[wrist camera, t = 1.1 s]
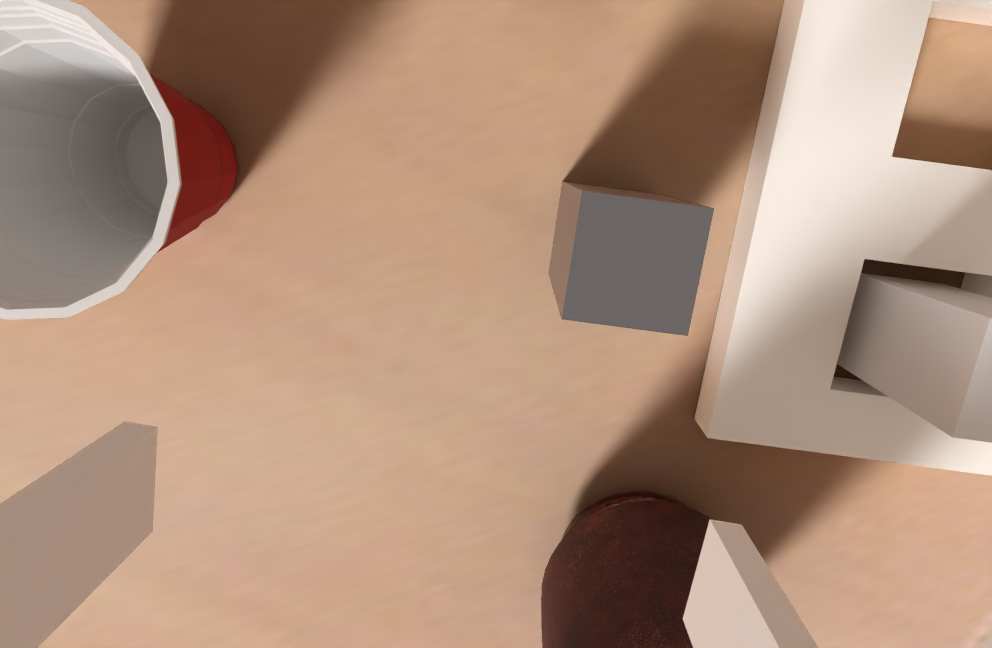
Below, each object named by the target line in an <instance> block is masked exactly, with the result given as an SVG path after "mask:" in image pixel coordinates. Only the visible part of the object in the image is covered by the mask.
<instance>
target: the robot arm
mask: <svg viewBox="0 0 992 648" xmlns="http://www.w3.org/2000/svg"><path fill="white" fill-rule="evenodd" d="M156 448H157V427H155V426H149V425H143V424H137V423H131V422H123V423H122V424H120V425H119V426H117V427H116V428H114V429H113V430H111V431H110V432H108V433H107V434H105V435H104V436H102V437H101V438H99V439H98V440H96V441H95V442H93V443H92V444H90V445H89V446H87V447H86V448H84V449H83V450H81V451H80V452H78V453H77V454H75V455H74V456H72V457H70V458H69V459H67V460H66V461H64V462H63V463H61V464H60V465H58V466H57V467H55V468H54V469H52V470H51V471H49V472H48V473H46V474H45V475H43V476H42V477H40V478H39V479H37V480H36V481H34V482H33V483H31V484H30V485H28V486H27V487H25V488H24V489H22V490H21V491H19V492H18V493H16V494H15V495H13V496H11V497H10V498H8V499H7V500H5V501H4V502H2V503H1V504H0V648H38V647H39V646H40V645H41V644H42V643H43V642H44V641H45V640H46V639H47V637H48V636H49V635H50V634H51V633H52V632H53V631H54V630H55V629H56V628H57V627H58V626H59V625H60V624H61V623H62V622H63V621H64V620H65V619H66V618H67V617H68V616H69V615H70V614H71V613H72V612H73V611H74V610H75V609H76V608H77V607H78V606H79V605H80V604H81V603H82V602H83V601H84V600H85V599H86V598H87V597H88V596H89V595H90V594H91V593H92V592H93V591H94V590H95V589H96V588H97V587H98V586H99V585H100V584H101V583H102V582H103V581H104V580H105V579H106V578H107V577H108V576H109V575H110V574H111V573H112V572H113V571H114V570H115V569H116V568H117V567H118V566H119V565H120V564H121V563H122V562H123V561H124V560H125V559H126V558H127V557H128V555H129V554H130V553H131V552H132V551H133V550H134V549H135V548H136V547H137V546H138V545H139V544H140V543H141V542H142V541H143V540H144V539H145V538H146V537H147V536H148V535H149V534H150V533H151V532H152V530H153V509H154V489H155V468H156ZM683 621H684V624H685V627H686V629H687V632H688V635H689V638H690V640H691V643H692V646H693V648H818V646H817V645H816V643H815V642H814V640H813V638H812V637H811V635H810V634H809V632H808V630H807V629H806V627H805V626H804V624H803V622H802V621H801V619H800V617H799V616H798V614H797V613H796V611H795V609H794V608H793V606H792V605H791V603H790V601H789V600H788V598H787V597H786V595H785V593H784V592H783V590H782V589H781V587H780V585H779V584H778V582H777V581H776V579H775V577H774V576H773V574H772V572H771V571H770V569H769V568H768V566H767V564H766V563H765V561H764V560H763V558H762V556H761V555H760V553H759V552H758V550H757V548H756V547H755V545H754V544H753V542H752V540H751V539H750V537H749V536H748V534H747V532H746V531H745V529H744V527H743V526H742V524H736V523H730V522H724V521H718V520H712V519H710V520H709V524H708V527H707V531H706V535H705V538H704V542H703V546H702V550H701V553H700V557H699V561H698V564H697V568H696V572H695V575H694V579H693V583H692V586H691V590H690V594H689V598H688V601H687V605H686V609H685V612H684V616H683Z"/></svg>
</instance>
